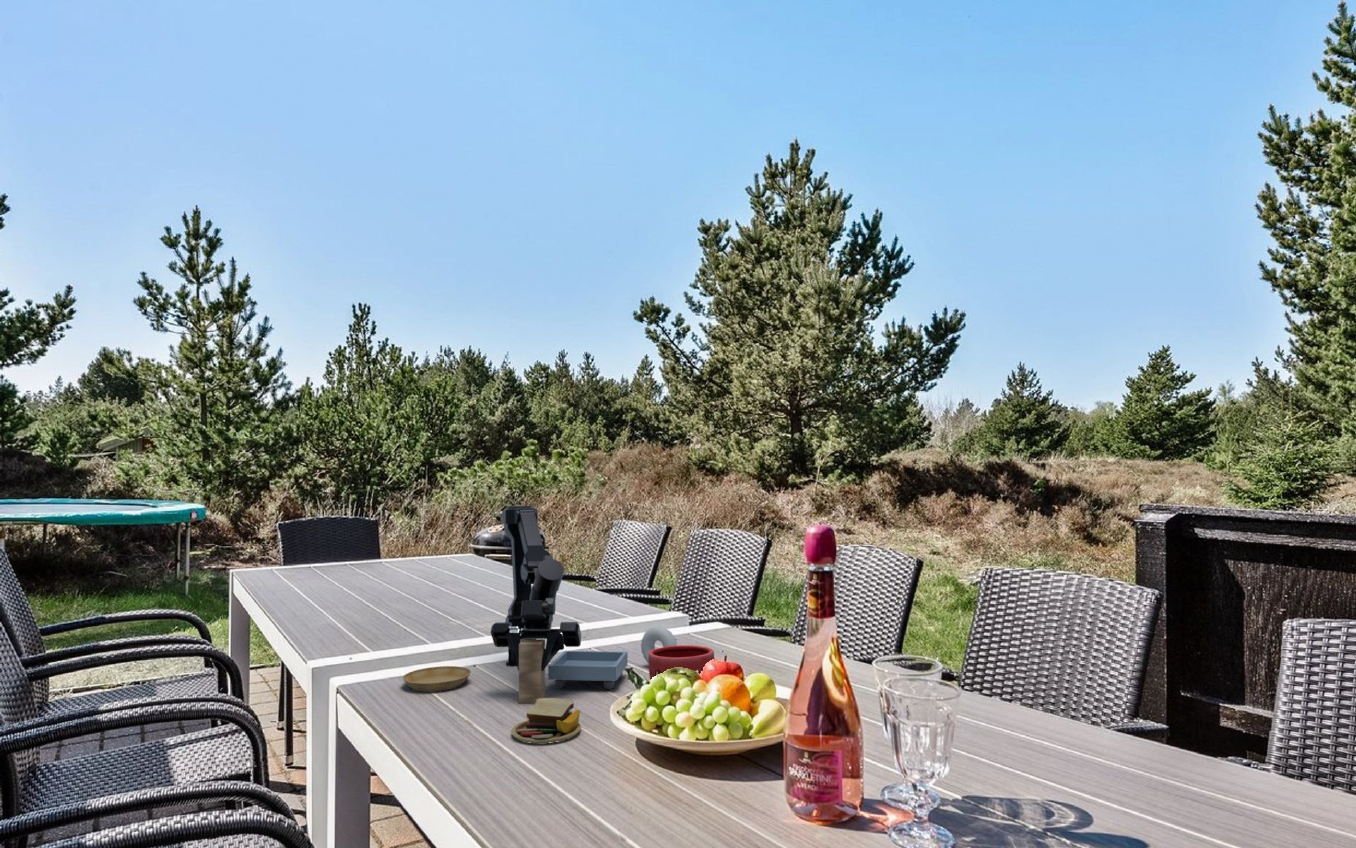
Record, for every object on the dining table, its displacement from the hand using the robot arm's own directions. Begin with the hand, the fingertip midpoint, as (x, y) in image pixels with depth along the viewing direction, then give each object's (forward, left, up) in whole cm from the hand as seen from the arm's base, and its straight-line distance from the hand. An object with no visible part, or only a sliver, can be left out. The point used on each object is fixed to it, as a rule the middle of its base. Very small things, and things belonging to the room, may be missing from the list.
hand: (530, 669), depth 160 cm
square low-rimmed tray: (+9, +15, -7) cm, 19 cm away
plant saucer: (-25, +11, -7) cm, 28 cm away
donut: (+23, +29, -7) cm, 38 cm away
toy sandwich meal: (+8, -18, -7) cm, 21 cm away
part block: (0, +1, -7) cm, 7 cm away
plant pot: (+32, -4, -7) cm, 33 cm away
